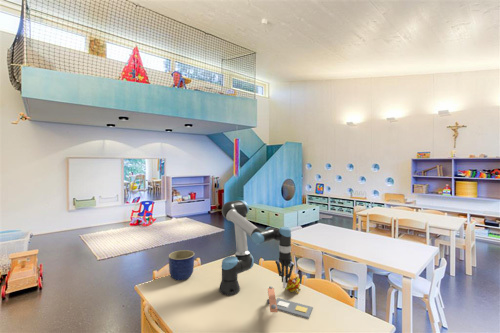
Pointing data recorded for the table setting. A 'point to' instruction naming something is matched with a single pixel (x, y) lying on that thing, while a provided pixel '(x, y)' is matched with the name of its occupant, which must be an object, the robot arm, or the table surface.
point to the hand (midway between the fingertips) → (284, 287)
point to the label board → (294, 308)
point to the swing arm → (272, 299)
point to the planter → (181, 264)
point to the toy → (293, 284)
